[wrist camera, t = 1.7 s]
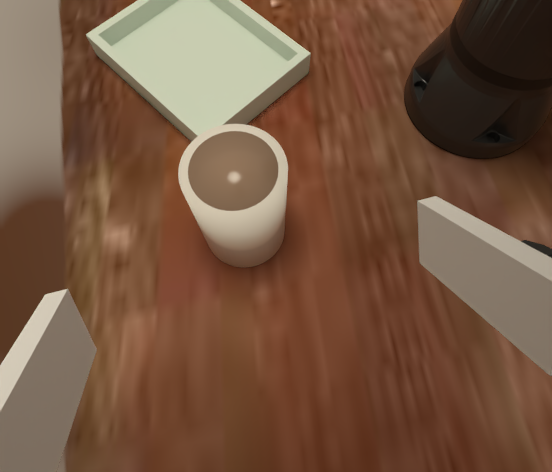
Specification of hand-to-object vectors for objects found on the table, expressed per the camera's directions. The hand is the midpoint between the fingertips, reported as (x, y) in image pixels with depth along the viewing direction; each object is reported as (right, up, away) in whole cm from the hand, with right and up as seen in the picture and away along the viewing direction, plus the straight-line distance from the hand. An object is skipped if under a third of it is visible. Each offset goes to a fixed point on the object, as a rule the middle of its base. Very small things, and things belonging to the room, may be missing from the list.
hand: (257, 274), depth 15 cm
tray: (-8, +22, +33) cm, 40 cm away
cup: (-2, +2, +26) cm, 26 cm away
